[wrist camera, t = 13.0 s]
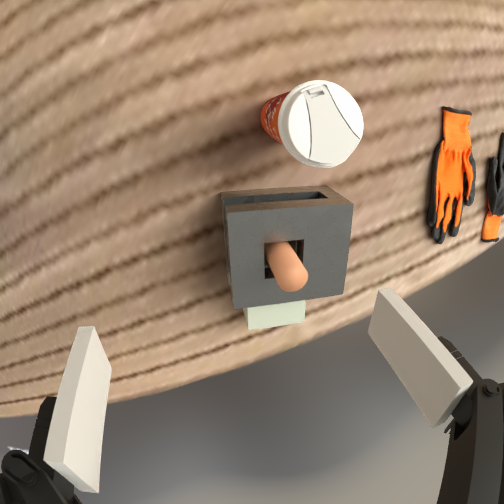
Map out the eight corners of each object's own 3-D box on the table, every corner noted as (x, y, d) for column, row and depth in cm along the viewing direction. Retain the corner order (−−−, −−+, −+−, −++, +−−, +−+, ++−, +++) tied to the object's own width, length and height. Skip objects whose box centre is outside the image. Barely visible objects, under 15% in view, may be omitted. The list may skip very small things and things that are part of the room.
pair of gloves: (413, 242, 48) (425, 251, 45) (434, 99, 37) (449, 100, 34) (497, 238, 52) (507, 244, 49) (518, 131, 42) (529, 134, 39)
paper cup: (241, 100, 34) (267, 95, 21) (299, 80, 34) (352, 69, 21) (265, 158, 37) (301, 185, 25) (320, 136, 37) (378, 154, 25)
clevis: (226, 275, 44) (233, 309, 37) (220, 192, 38) (226, 213, 31) (321, 264, 46) (342, 294, 39) (326, 185, 40) (353, 203, 33)
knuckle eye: (242, 308, 47) (248, 330, 42) (237, 206, 40) (243, 220, 35) (294, 301, 48) (304, 321, 43) (297, 201, 41) (311, 214, 36)
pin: (255, 222, 41) (277, 267, 30) (278, 219, 41) (308, 262, 31) (256, 244, 42) (277, 294, 32) (279, 241, 43) (307, 289, 32)
